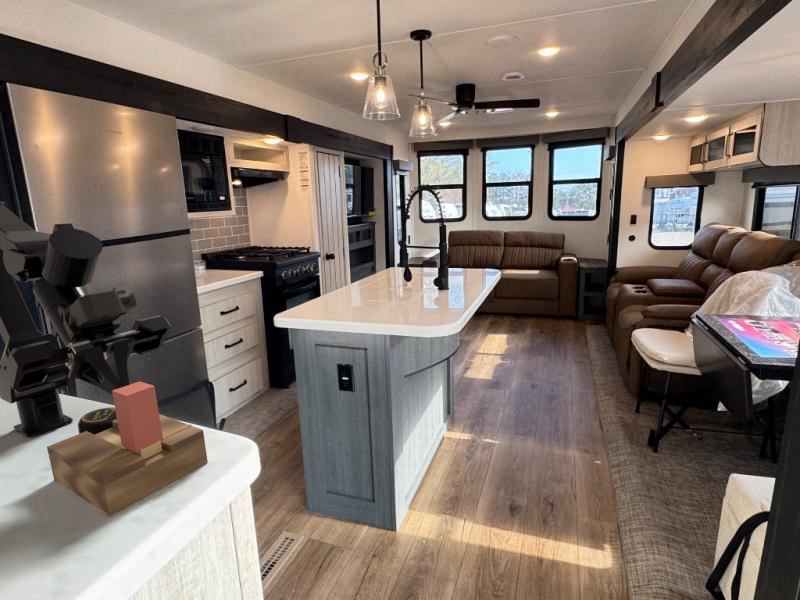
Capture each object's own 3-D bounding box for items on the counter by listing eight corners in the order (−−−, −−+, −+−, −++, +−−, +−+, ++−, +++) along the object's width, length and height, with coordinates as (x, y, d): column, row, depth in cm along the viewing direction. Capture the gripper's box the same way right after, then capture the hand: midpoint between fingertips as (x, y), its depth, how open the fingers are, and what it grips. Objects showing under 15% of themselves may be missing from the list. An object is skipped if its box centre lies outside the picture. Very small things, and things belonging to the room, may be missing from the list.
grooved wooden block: (54, 480, 61) (46, 445, 60) (149, 437, 72) (144, 407, 71) (110, 516, 53) (102, 477, 52) (207, 462, 64) (203, 429, 63)
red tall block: (122, 454, 59) (110, 390, 57) (149, 441, 62) (138, 380, 60) (139, 462, 57) (127, 396, 55) (165, 449, 60) (155, 386, 58)
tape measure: (124, 441, 72) (120, 419, 71) (73, 449, 70) (69, 427, 69) (134, 422, 78) (131, 402, 77) (89, 429, 76) (85, 409, 75)
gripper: (-8, 281, 51) (55, 390, 47) (154, 261, 66) (211, 342, 63) (-17, 340, 57) (38, 441, 53) (134, 309, 72) (185, 385, 68)
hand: (127, 397), depth 59 cm, fingers closed, pressing on red tall block
